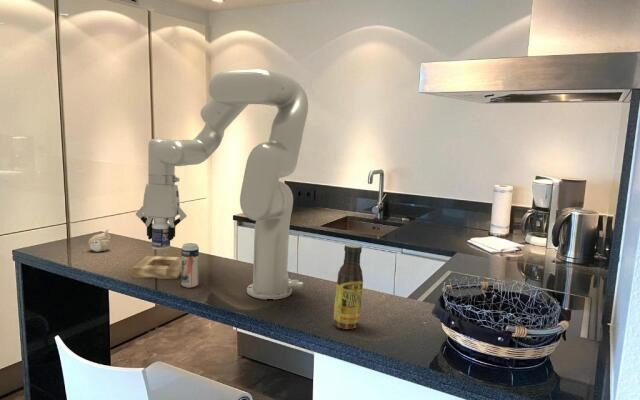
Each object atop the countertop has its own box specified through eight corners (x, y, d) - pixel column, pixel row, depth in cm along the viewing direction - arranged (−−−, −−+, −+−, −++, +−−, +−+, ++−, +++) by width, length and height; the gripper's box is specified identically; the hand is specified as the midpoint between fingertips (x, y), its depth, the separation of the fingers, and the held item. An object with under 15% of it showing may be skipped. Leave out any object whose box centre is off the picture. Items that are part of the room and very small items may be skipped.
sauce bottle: (339, 332, 109) (345, 249, 106) (328, 322, 115) (333, 242, 112) (364, 329, 112) (370, 247, 109) (352, 319, 117) (357, 241, 114)
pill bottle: (164, 250, 142) (164, 219, 140) (148, 249, 143) (148, 217, 141) (173, 246, 147) (173, 215, 146) (157, 244, 148) (157, 214, 147)
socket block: (187, 266, 153) (187, 257, 152) (176, 279, 140) (177, 269, 139) (147, 264, 152) (147, 255, 152) (132, 277, 139) (132, 267, 139)
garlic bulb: (98, 254, 161) (97, 231, 160) (85, 251, 164) (84, 229, 162) (113, 250, 167) (113, 228, 166) (101, 247, 170) (100, 225, 168)
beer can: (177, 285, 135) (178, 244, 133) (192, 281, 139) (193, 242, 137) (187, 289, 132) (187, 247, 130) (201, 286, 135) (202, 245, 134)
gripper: (193, 180, 146) (192, 237, 149) (137, 177, 145) (137, 234, 148) (187, 183, 138) (186, 243, 141) (128, 180, 138) (128, 240, 141)
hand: (161, 238), depth 145 cm, fingers closed on pill bottle, 5 cm apart
